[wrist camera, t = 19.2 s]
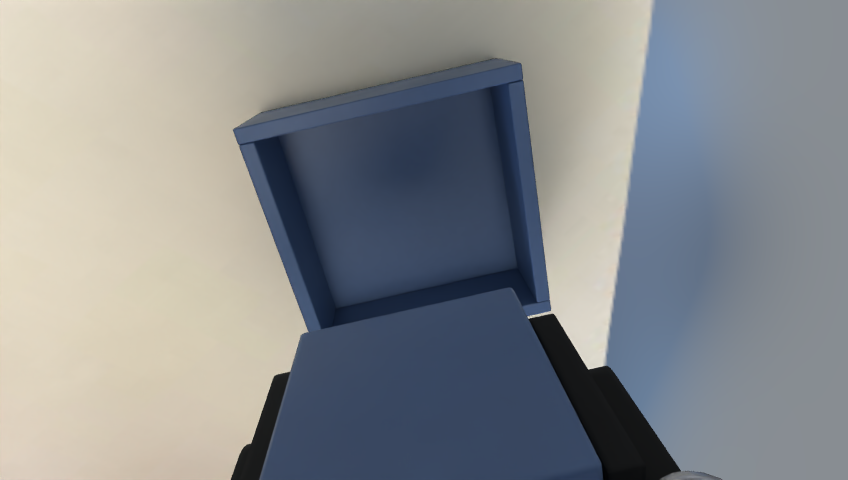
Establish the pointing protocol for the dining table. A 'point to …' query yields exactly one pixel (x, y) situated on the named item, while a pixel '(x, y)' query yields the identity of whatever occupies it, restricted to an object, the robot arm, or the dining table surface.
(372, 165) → the slate bin
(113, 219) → the dining table surface
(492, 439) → the block
